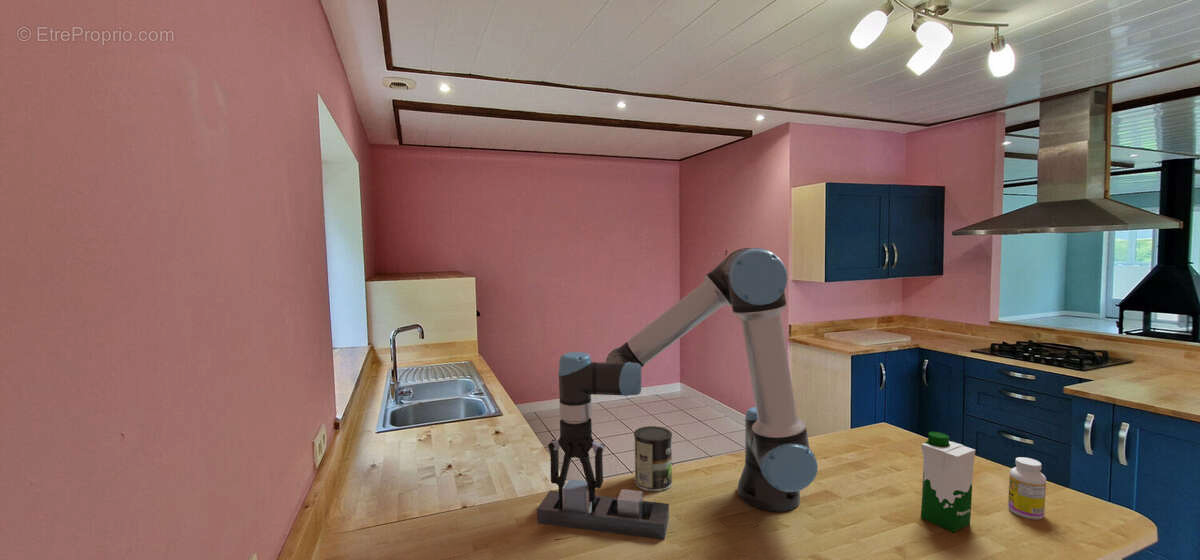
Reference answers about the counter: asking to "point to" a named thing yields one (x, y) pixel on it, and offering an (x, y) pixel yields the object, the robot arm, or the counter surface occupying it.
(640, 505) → the pale wooden cube
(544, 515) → the dark grey compartment tray
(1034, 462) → the supplement bottle
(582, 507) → the blue-grey rectangular block
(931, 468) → the milk carton
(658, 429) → the coffee can
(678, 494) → the counter surface
